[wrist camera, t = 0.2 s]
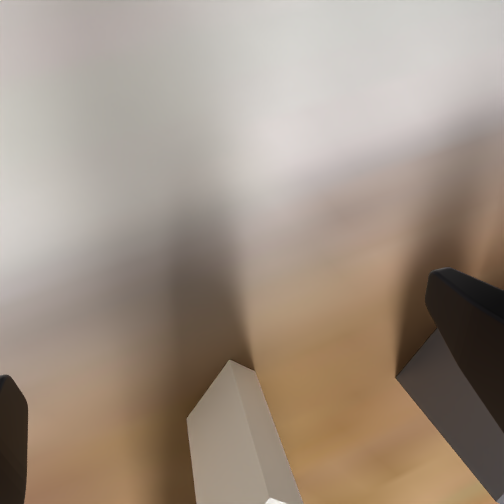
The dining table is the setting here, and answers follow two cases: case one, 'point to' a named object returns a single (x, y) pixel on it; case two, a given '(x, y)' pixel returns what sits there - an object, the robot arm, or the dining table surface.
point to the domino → (456, 412)
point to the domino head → (238, 444)
